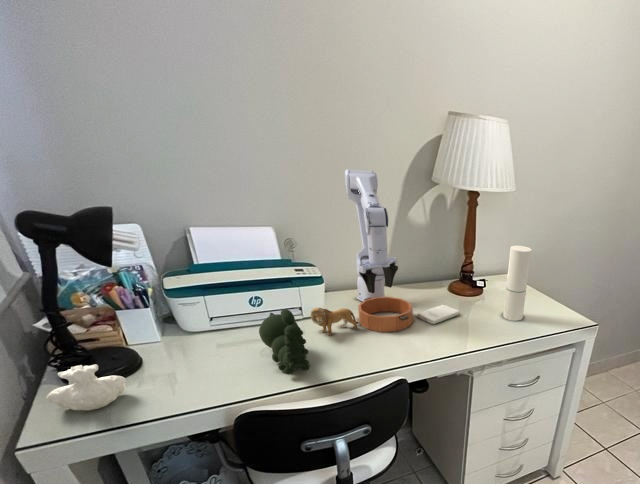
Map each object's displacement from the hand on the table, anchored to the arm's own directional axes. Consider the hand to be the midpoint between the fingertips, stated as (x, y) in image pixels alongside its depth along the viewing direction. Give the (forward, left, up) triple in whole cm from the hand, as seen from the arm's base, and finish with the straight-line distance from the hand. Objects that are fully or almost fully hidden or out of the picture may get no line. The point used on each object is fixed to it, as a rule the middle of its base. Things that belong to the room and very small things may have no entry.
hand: (380, 289), depth 135 cm
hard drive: (+12, +15, -10) cm, 21 cm away
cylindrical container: (+29, +36, -10) cm, 47 cm away
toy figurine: (+9, -36, -10) cm, 39 cm away
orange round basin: (+4, -1, -9) cm, 10 cm away
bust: (+1, -73, -10) cm, 74 cm away
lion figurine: (+1, -18, -10) cm, 20 cm away
